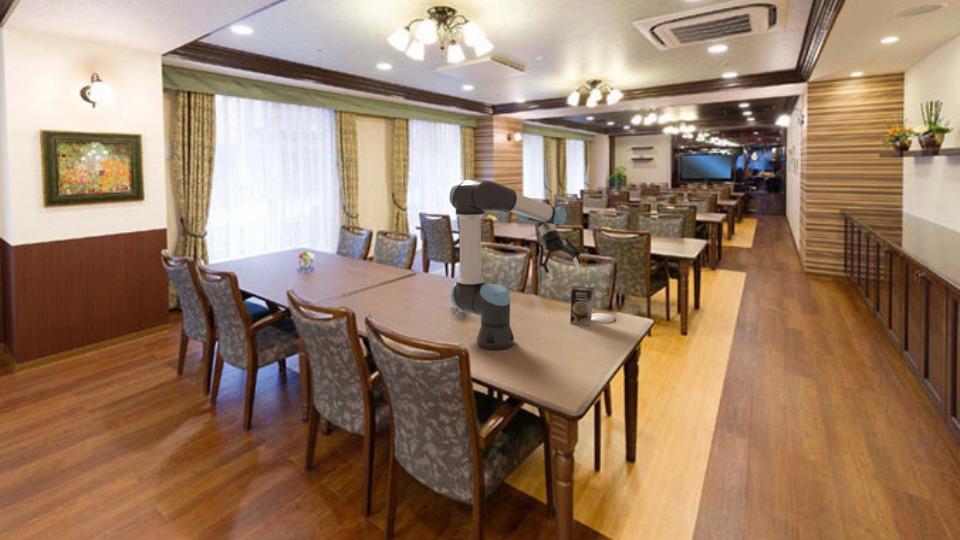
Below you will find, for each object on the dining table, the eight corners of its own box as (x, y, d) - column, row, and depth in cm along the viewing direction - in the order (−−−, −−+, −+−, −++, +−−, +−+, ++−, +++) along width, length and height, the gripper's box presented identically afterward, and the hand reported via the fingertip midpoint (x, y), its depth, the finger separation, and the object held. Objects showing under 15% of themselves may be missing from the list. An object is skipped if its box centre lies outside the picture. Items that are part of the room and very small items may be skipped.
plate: (599, 324, 218) (599, 322, 218) (582, 317, 228) (582, 315, 228) (620, 320, 223) (620, 318, 223) (602, 313, 233) (602, 311, 233)
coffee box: (569, 324, 219) (570, 289, 215) (571, 319, 225) (572, 285, 221) (590, 325, 216) (591, 290, 213) (591, 321, 222) (593, 286, 219)
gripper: (572, 230, 233) (589, 270, 226) (523, 243, 229) (538, 285, 222) (576, 223, 226) (593, 264, 219) (525, 237, 222) (541, 279, 215)
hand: (566, 274), depth 221 cm, fingers open, 13 cm apart
